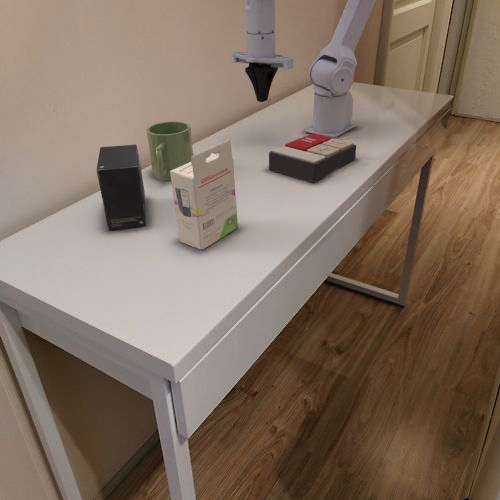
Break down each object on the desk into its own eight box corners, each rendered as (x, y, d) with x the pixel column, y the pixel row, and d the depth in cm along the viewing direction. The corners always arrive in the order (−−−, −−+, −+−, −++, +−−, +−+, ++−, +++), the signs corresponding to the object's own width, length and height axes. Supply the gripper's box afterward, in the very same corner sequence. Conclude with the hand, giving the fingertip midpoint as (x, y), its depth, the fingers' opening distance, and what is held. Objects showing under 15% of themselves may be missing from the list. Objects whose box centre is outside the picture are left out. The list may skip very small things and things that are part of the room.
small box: (148, 226, 81) (138, 165, 75) (107, 231, 80) (94, 170, 74) (146, 198, 90) (137, 142, 84) (109, 203, 89) (98, 146, 83)
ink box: (215, 219, 82) (208, 132, 74) (239, 228, 79) (233, 138, 72) (177, 241, 77) (165, 149, 69) (200, 252, 74) (190, 156, 66)
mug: (160, 163, 104) (154, 120, 99) (199, 164, 102) (195, 121, 98) (141, 186, 94) (134, 140, 90) (183, 188, 93) (178, 141, 88)
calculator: (357, 141, 100) (315, 160, 90) (355, 161, 102) (314, 183, 92) (312, 131, 106) (268, 148, 97) (311, 150, 109) (267, 169, 99)
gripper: (220, 32, 101) (224, 100, 109) (278, 37, 93) (278, 110, 101) (242, 27, 106) (245, 92, 113) (299, 32, 98) (298, 102, 105)
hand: (262, 100), depth 107 cm, fingers closed
